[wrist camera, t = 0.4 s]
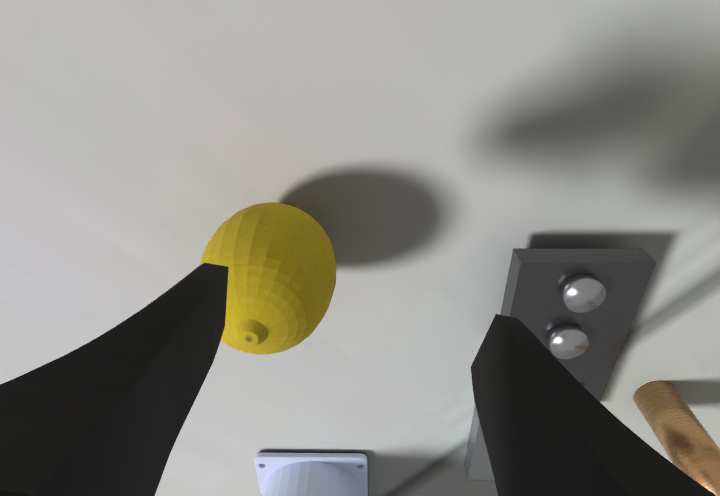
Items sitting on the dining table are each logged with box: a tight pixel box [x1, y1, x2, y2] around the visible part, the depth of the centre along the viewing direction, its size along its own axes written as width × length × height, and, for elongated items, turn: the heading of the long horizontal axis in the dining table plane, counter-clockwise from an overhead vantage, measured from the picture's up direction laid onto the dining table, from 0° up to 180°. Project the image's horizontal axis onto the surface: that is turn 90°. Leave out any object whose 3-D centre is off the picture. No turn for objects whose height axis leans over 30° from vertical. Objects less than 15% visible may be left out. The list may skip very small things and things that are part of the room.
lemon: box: [200, 202, 336, 354], centre depth 19 cm, size 6×6×8 cm
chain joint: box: [464, 249, 656, 481], centre depth 26 cm, size 19×6×3 cm, turn 1°
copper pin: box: [633, 381, 720, 496], centre depth 24 cm, size 2×2×8 cm
